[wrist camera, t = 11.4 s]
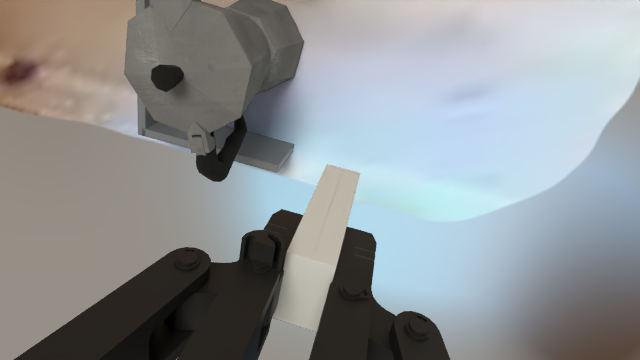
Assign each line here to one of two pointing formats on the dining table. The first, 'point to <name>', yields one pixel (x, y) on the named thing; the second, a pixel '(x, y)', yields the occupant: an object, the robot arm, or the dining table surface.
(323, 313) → the robot arm
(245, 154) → the box
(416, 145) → the dining table surface
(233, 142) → the coffeepot
